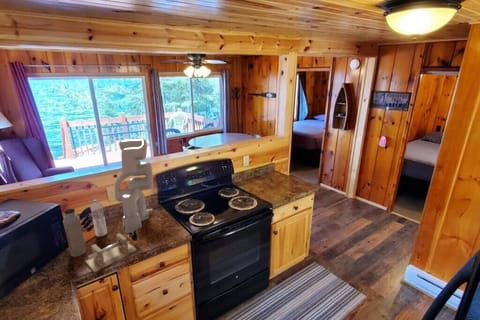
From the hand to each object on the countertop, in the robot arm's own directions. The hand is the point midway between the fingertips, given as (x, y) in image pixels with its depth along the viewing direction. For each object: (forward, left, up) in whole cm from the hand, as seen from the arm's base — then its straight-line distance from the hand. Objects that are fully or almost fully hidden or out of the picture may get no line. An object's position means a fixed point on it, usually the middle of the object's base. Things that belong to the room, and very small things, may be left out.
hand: (134, 239), depth 158 cm
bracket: (+15, 0, -4) cm, 15 cm away
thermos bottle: (+26, -19, -4) cm, 32 cm away
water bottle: (+9, -28, -4) cm, 29 cm away
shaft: (+15, 0, 0) cm, 15 cm away
